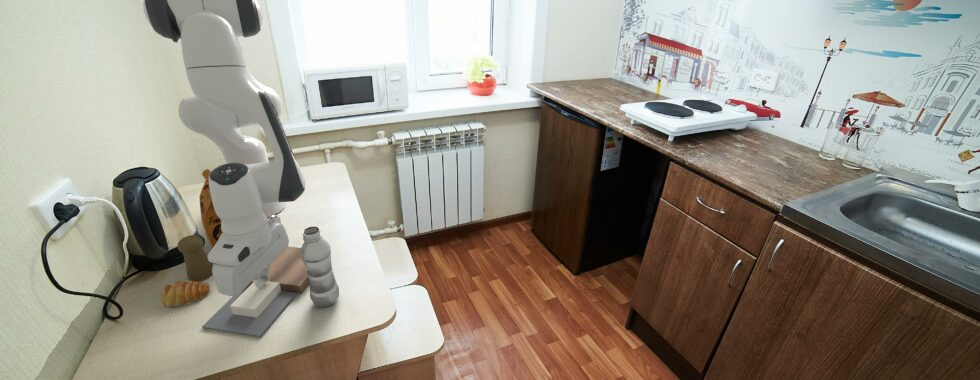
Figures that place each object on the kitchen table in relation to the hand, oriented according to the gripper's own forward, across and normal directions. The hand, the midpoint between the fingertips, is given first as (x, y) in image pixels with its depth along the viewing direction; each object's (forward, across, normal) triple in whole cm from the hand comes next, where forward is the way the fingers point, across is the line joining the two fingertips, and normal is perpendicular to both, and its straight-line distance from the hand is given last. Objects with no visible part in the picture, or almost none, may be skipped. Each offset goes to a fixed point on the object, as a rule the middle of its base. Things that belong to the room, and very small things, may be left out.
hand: (263, 283), depth 98 cm
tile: (+3, +3, 0) cm, 4 cm away
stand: (+4, -9, 0) cm, 10 cm away
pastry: (+4, +4, -19) cm, 19 cm away
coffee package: (+4, -16, -22) cm, 28 cm away
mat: (+4, +5, 0) cm, 6 cm away
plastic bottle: (+4, -1, +15) cm, 16 cm away
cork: (+4, -4, -21) cm, 22 cm away
